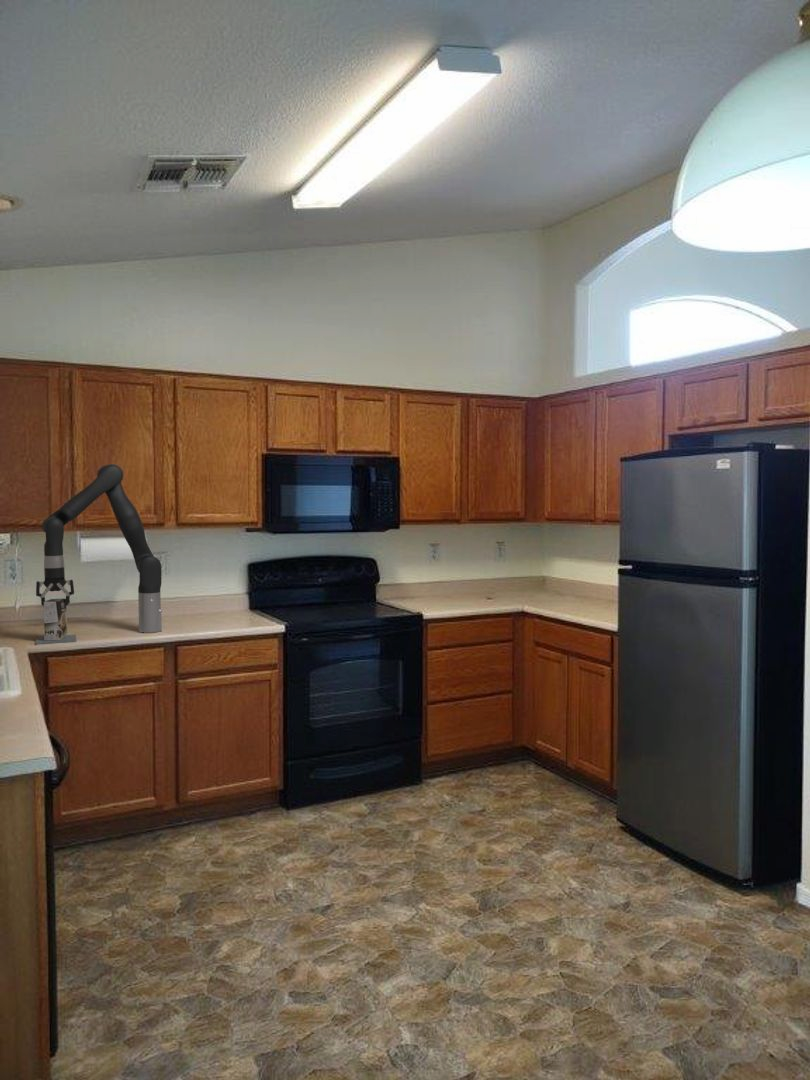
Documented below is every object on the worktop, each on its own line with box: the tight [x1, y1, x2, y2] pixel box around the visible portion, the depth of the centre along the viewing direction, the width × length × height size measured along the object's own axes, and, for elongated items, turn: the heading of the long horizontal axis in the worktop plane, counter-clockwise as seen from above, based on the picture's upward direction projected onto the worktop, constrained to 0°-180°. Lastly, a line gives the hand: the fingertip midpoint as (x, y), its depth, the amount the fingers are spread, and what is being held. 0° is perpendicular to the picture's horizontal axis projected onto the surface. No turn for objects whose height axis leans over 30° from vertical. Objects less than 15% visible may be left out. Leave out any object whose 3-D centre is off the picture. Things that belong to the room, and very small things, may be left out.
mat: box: [35, 634, 77, 645], centre depth 322 cm, size 15×14×1 cm
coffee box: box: [43, 598, 68, 641], centre depth 321 cm, size 9×6×16 cm
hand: (55, 605), depth 321 cm, fingers open, 8 cm apart
